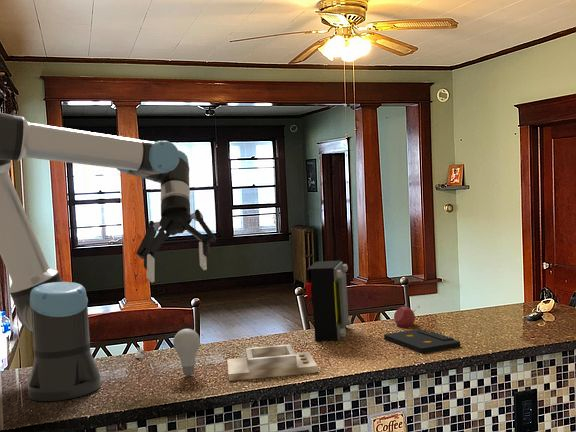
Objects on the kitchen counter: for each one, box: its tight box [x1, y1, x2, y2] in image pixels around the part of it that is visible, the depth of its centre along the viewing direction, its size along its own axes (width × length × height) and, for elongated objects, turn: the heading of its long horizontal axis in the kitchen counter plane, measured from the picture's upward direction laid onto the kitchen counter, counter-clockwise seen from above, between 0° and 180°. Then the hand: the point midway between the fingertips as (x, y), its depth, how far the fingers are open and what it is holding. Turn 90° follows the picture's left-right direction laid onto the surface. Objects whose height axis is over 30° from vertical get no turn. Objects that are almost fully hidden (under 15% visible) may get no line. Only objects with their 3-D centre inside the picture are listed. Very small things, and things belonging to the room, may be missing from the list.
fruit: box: [393, 305, 420, 328], centre depth 179 cm, size 6×6×8 cm
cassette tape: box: [383, 328, 461, 355], centre depth 157 cm, size 18×12×2 cm, turn 22°
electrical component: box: [304, 260, 352, 342], centre depth 173 cm, size 18×10×20 cm, turn 168°
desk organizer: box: [226, 344, 319, 382], centre depth 141 cm, size 20×13×4 cm, turn 97°
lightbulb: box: [172, 328, 201, 378], centre depth 139 cm, size 6×6×11 cm
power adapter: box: [134, 346, 144, 359], centre depth 159 cm, size 3×3×3 cm
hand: (176, 273), depth 146 cm, fingers open, 13 cm apart
